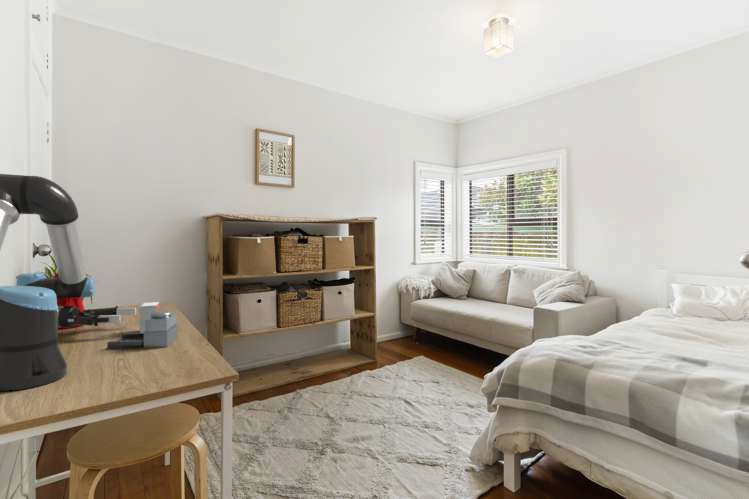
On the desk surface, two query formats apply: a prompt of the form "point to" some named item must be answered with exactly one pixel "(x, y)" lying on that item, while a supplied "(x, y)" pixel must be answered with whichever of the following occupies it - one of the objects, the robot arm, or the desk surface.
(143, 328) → the small box
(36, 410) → the desk surface
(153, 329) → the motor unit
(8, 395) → the desk surface
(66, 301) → the water bottle
